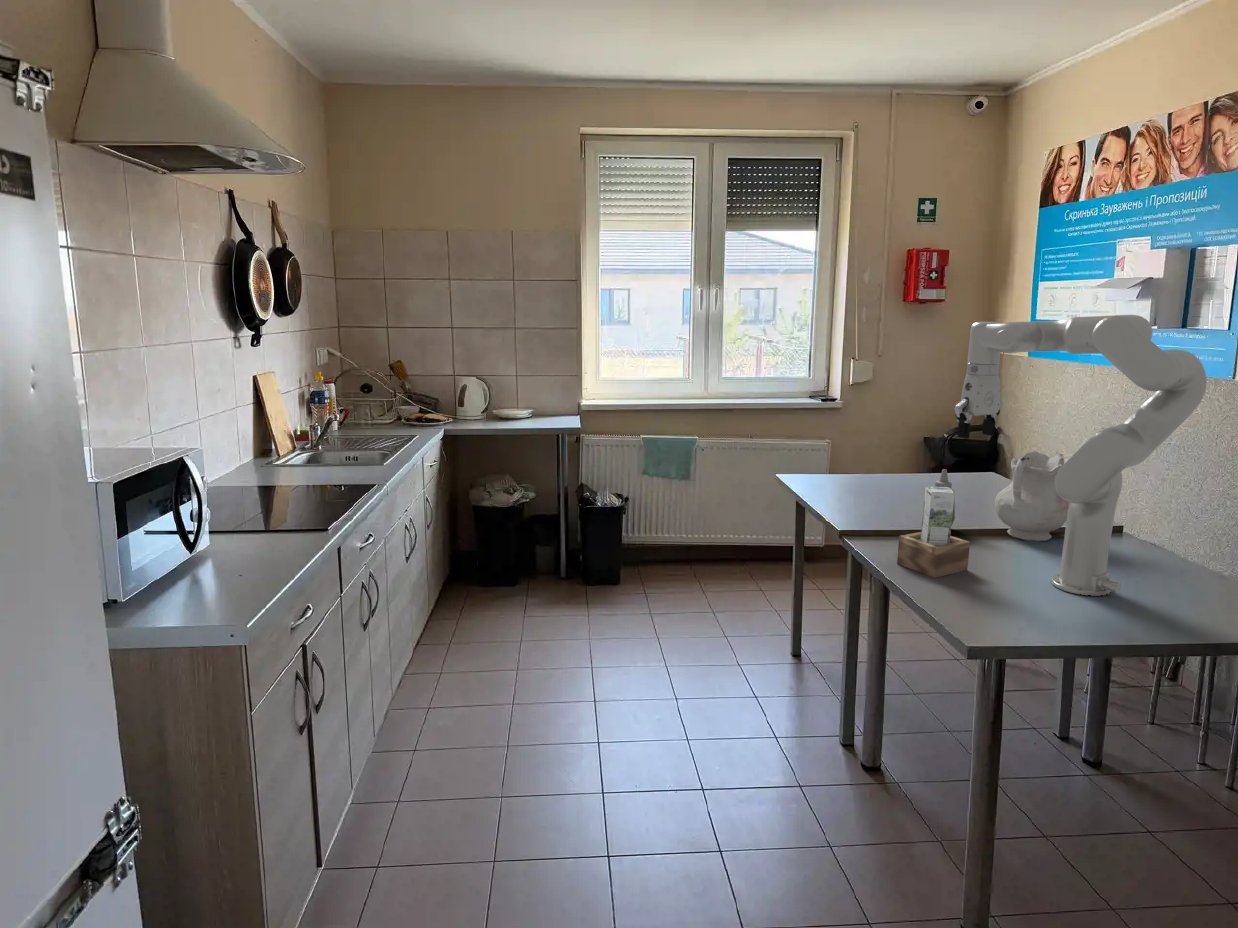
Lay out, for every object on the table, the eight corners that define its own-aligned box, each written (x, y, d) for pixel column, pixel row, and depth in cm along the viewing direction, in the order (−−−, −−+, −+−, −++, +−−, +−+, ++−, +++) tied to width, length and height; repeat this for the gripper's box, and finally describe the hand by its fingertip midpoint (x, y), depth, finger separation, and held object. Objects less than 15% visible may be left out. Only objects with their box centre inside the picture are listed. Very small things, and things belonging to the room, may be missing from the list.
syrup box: (942, 540, 212) (948, 486, 209) (949, 547, 206) (955, 491, 203) (920, 539, 212) (925, 485, 209) (926, 546, 206) (931, 491, 203)
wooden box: (967, 570, 208) (970, 541, 206) (934, 577, 202) (937, 548, 201) (929, 556, 218) (931, 529, 217) (896, 563, 213) (899, 535, 211)
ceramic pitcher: (1054, 555, 224) (1073, 467, 218) (979, 536, 235) (996, 452, 229) (1068, 537, 241) (1086, 455, 235) (997, 520, 252) (1013, 441, 246)
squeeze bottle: (935, 533, 239) (941, 473, 236) (919, 525, 247) (924, 467, 243) (959, 531, 242) (965, 472, 238) (942, 524, 249) (947, 466, 245)
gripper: (972, 373, 203) (965, 441, 206) (1017, 370, 211) (1010, 436, 215) (947, 370, 209) (941, 436, 213) (991, 368, 217) (985, 431, 221)
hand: (975, 436), depth 214 cm, fingers open, 9 cm apart
